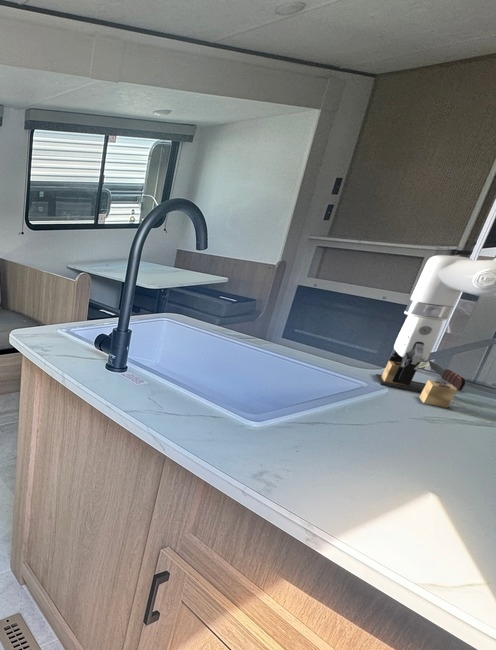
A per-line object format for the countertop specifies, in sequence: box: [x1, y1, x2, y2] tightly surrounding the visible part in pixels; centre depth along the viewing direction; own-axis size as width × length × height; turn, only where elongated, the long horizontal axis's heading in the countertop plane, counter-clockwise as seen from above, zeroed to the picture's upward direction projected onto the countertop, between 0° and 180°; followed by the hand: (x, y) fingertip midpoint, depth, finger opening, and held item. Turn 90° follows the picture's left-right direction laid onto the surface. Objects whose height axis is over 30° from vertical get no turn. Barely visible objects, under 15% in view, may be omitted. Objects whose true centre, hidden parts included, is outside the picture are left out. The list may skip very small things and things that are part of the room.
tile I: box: [418, 379, 458, 409], centre depth 97 cm, size 4×4×5 cm
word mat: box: [375, 373, 427, 394], centre depth 107 cm, size 11×8×1 cm
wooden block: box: [381, 360, 406, 385], centre depth 107 cm, size 4×4×5 cm
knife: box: [427, 359, 466, 392], centre depth 112 cm, size 17×1×3 cm, turn 159°
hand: (396, 377), depth 107 cm, fingers open, 9 cm apart
